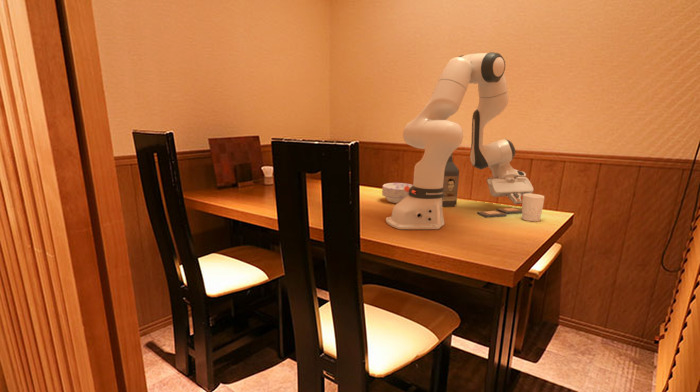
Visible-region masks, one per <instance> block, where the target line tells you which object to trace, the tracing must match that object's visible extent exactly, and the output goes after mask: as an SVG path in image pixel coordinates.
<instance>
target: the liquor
mask: <svg viewBox="0 0 700 392" xmlns="http://www.w3.org/2000/svg"><path fill="white" fill-rule="evenodd" d="M453 152H454V151H453ZM453 152H452V153H451V155H450V157H449V158H448V161H447V163H446V166H445V171H444V180H443V187H444V196H443V201H442V208H454V207H456V205H457V202H458V190H459V180H460V179H459V178H460V170H459V168H458V167H457V165H456V164H455V163H454V160H453Z"/></svg>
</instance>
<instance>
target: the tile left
mask: <svg viewBox="0 0 700 392" xmlns="http://www.w3.org/2000/svg"><path fill="white" fill-rule="evenodd" d="M476 214H477V215H479V216H481V217H483V218H485V219H487V218H488V219H489V218H502V217H507V215H508V214H505V213H502V212H500V211H496V210H488V211H487V210H485V211H484V210H483V211H477V213H476Z"/></svg>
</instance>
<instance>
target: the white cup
mask: <svg viewBox="0 0 700 392" xmlns="http://www.w3.org/2000/svg"><path fill="white" fill-rule="evenodd" d="M521 201H522V203H521V204H522V205H521V210H522V213H521V219H522V220H524V221H527V222H540V220H541V217H542V213H543V208H544V202H545V195H542V194H539V193H537V194H536V193H531V194H523V196H522V200H521Z"/></svg>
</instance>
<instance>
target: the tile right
mask: <svg viewBox="0 0 700 392" xmlns="http://www.w3.org/2000/svg"><path fill="white" fill-rule="evenodd" d="M495 211H500V212H502V213H505V214H507V215H516V214H522V208H519V207H505V208H504V207H502V208H501V207H500V208H496V210H495Z"/></svg>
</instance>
